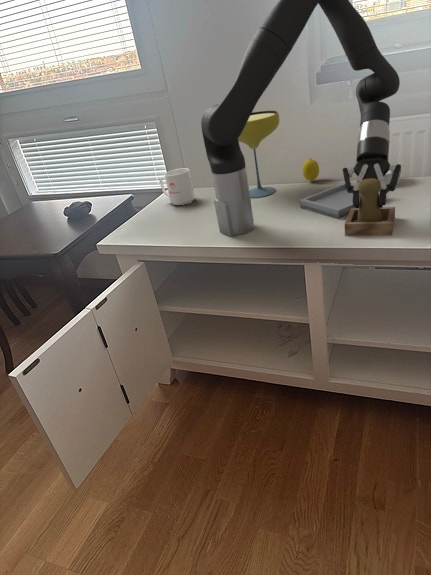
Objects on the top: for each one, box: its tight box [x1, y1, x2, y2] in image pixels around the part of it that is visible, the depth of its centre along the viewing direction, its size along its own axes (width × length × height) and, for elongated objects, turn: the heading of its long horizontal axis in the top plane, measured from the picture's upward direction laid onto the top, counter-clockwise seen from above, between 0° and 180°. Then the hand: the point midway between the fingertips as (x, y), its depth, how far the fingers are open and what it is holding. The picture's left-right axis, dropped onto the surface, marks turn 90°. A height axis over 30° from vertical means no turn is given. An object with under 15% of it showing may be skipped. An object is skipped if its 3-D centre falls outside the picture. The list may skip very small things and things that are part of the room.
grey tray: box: [299, 182, 380, 220], centre depth 125 cm, size 18×16×2 cm
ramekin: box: [384, 170, 401, 185], centre depth 134 cm, size 9×9×4 cm
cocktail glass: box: [238, 110, 280, 199], centre depth 143 cm, size 18×18×25 cm
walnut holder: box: [344, 206, 396, 236], centre depth 108 cm, size 11×11×3 cm
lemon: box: [302, 158, 320, 182], centre depth 148 cm, size 6×6×8 cm
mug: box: [158, 167, 196, 206], centre depth 154 cm, size 12×9×11 cm
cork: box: [356, 178, 383, 222], centre depth 106 cm, size 6×6×11 cm
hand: (368, 206), depth 105 cm, fingers closed on cork, 5 cm apart
